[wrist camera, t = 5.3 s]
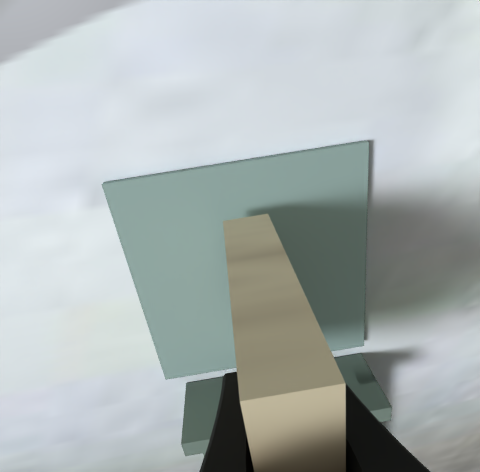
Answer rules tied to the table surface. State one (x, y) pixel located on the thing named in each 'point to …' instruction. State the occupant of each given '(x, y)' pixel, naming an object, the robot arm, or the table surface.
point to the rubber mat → (214, 253)
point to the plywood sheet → (281, 358)
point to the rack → (208, 394)
